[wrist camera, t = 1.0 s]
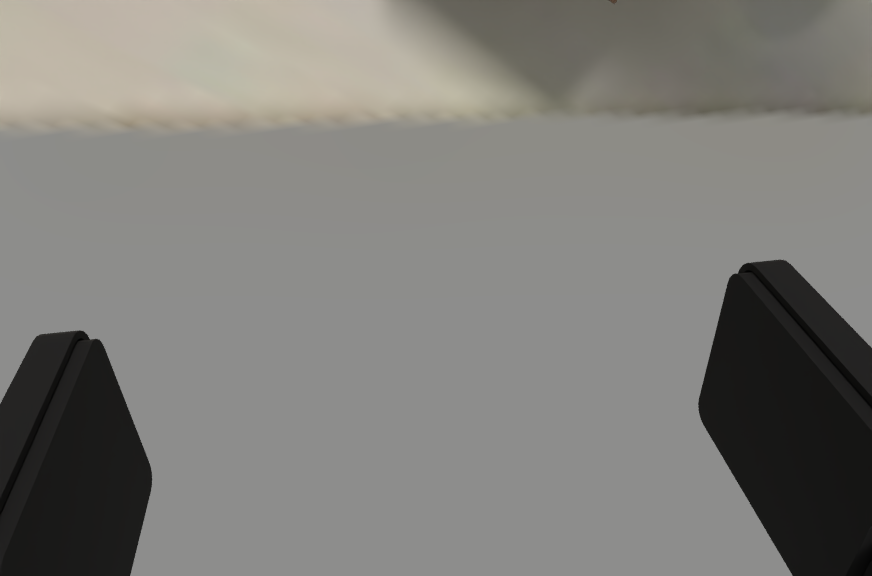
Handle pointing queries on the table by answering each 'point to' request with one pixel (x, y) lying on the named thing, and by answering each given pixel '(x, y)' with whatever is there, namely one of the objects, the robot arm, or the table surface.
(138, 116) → the table surface
